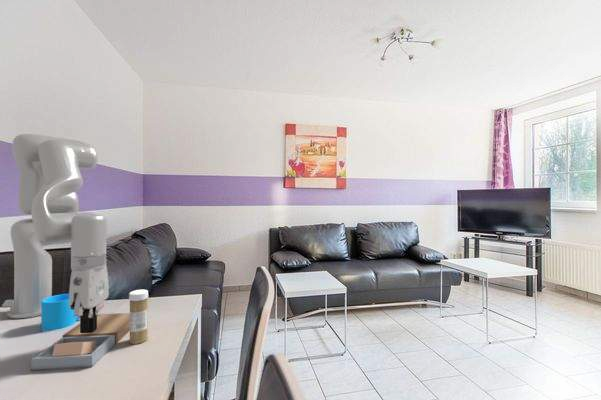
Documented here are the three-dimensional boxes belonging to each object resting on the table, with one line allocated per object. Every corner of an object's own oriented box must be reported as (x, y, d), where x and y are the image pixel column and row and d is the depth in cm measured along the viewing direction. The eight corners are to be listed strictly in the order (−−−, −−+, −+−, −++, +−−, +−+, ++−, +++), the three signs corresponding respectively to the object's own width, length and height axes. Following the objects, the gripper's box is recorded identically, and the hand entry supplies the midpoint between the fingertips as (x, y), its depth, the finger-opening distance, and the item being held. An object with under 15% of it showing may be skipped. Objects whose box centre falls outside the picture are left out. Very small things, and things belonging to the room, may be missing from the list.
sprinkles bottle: (148, 335, 83) (148, 288, 83) (147, 342, 79) (148, 292, 79) (129, 338, 81) (129, 290, 81) (128, 346, 77) (128, 295, 77)
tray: (31, 370, 66) (31, 359, 66) (62, 347, 76) (62, 337, 76) (92, 367, 68) (92, 355, 68) (114, 344, 78) (115, 334, 78)
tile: (69, 342, 73) (67, 353, 72) (54, 344, 68) (51, 356, 67) (96, 341, 74) (93, 352, 73) (83, 342, 69) (80, 354, 68)
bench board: (62, 346, 77) (62, 335, 77) (93, 324, 90) (93, 314, 90) (116, 344, 78) (116, 332, 78) (138, 322, 92) (138, 312, 92)
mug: (41, 333, 84) (41, 304, 84) (41, 324, 90) (41, 297, 90) (92, 321, 92) (92, 295, 92) (88, 314, 98) (89, 289, 98)
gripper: (88, 267, 70) (87, 344, 70) (118, 255, 85) (117, 319, 85) (53, 268, 69) (52, 346, 69) (90, 256, 84) (89, 320, 84)
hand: (88, 331), depth 77 cm, fingers closed
